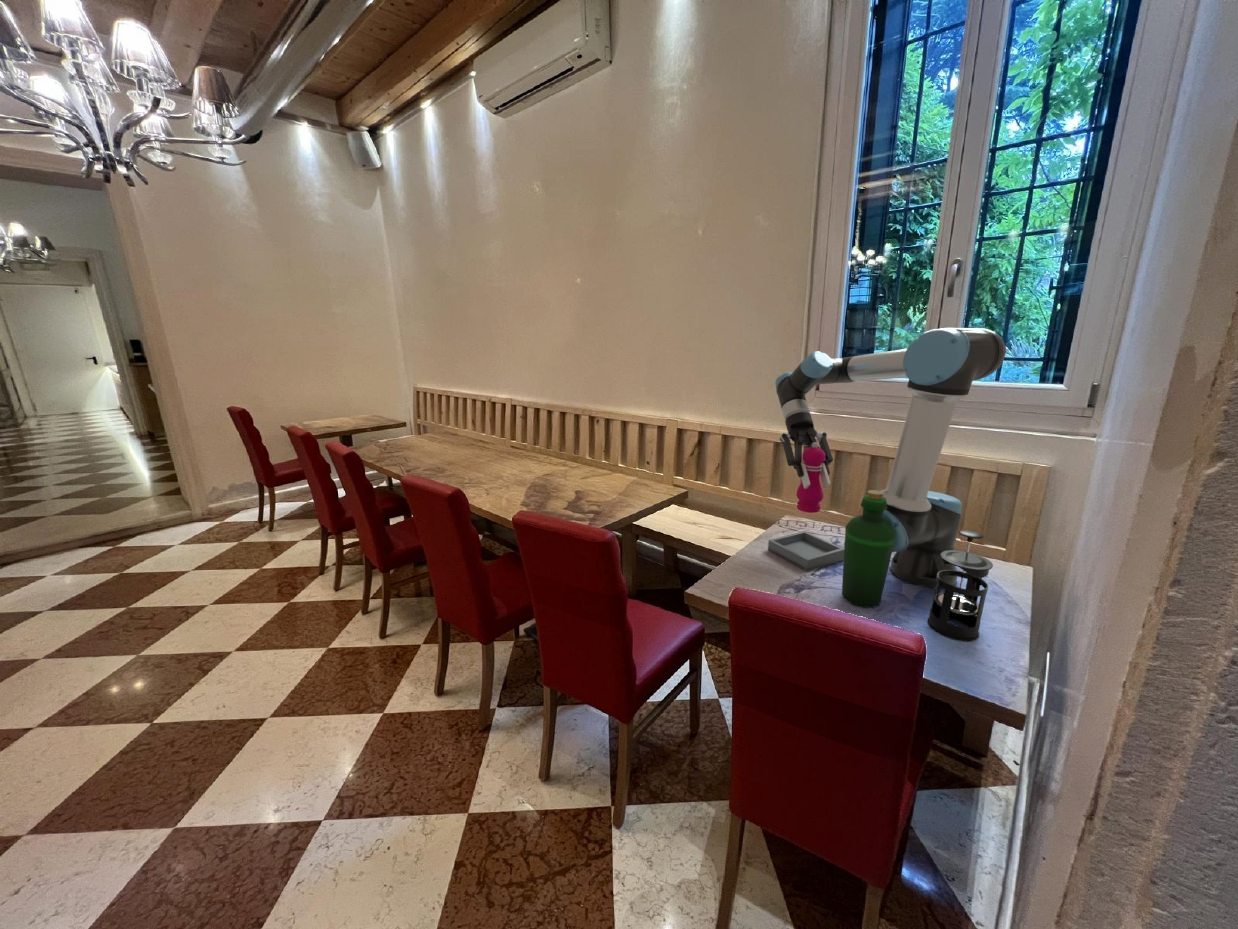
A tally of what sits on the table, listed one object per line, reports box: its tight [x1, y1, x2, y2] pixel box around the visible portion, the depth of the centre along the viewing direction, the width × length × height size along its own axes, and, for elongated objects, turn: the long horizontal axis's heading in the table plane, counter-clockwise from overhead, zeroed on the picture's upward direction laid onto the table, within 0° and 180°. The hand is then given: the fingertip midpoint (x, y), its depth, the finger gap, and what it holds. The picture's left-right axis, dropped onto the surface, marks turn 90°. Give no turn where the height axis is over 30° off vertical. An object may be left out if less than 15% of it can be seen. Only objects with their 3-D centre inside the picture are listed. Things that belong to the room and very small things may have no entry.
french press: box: [926, 529, 994, 642], centre depth 99 cm, size 12×9×23 cm
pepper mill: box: [796, 441, 825, 514], centre depth 132 cm, size 7×7×20 cm
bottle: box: [841, 489, 896, 609], centre depth 110 cm, size 11×11×28 cm
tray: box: [767, 530, 844, 572], centre depth 137 cm, size 15×15×4 cm
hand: (817, 486), depth 128 cm, fingers closed on pepper mill, 5 cm apart
